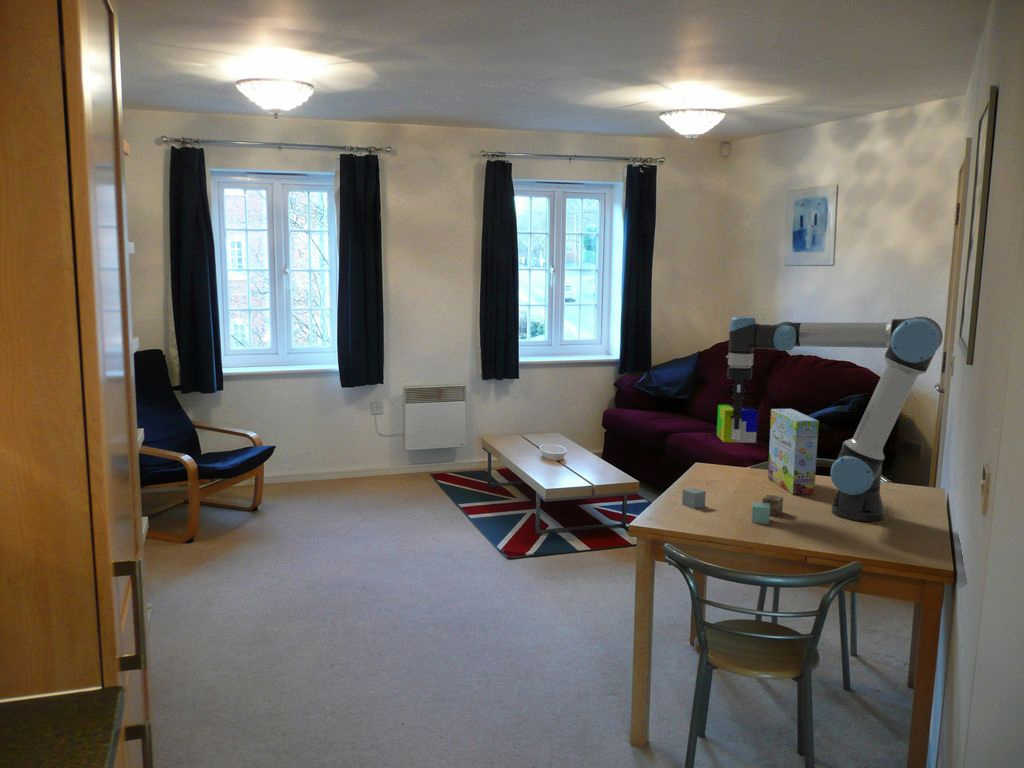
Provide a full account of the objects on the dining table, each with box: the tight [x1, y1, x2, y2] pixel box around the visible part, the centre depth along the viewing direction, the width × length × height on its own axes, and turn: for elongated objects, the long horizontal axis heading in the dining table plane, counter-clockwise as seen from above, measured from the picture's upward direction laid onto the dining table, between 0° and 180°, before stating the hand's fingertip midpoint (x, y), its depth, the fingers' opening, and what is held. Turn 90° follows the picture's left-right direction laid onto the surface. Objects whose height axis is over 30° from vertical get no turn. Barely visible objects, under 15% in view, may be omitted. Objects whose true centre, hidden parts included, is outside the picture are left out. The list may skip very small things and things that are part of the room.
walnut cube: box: [762, 494, 784, 517], centre depth 264 cm, size 5×5×5 cm
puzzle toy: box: [716, 404, 759, 444], centre depth 267 cm, size 10×10×10 cm
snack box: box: [767, 408, 820, 496], centre depth 294 cm, size 22×9×26 cm, turn 6°
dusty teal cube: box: [751, 501, 771, 525], centre depth 256 cm, size 5×5×5 cm
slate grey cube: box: [681, 487, 707, 510], centre depth 271 cm, size 5×5×5 cm
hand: (736, 435), depth 268 cm, fingers closed on puzzle toy, 11 cm apart
